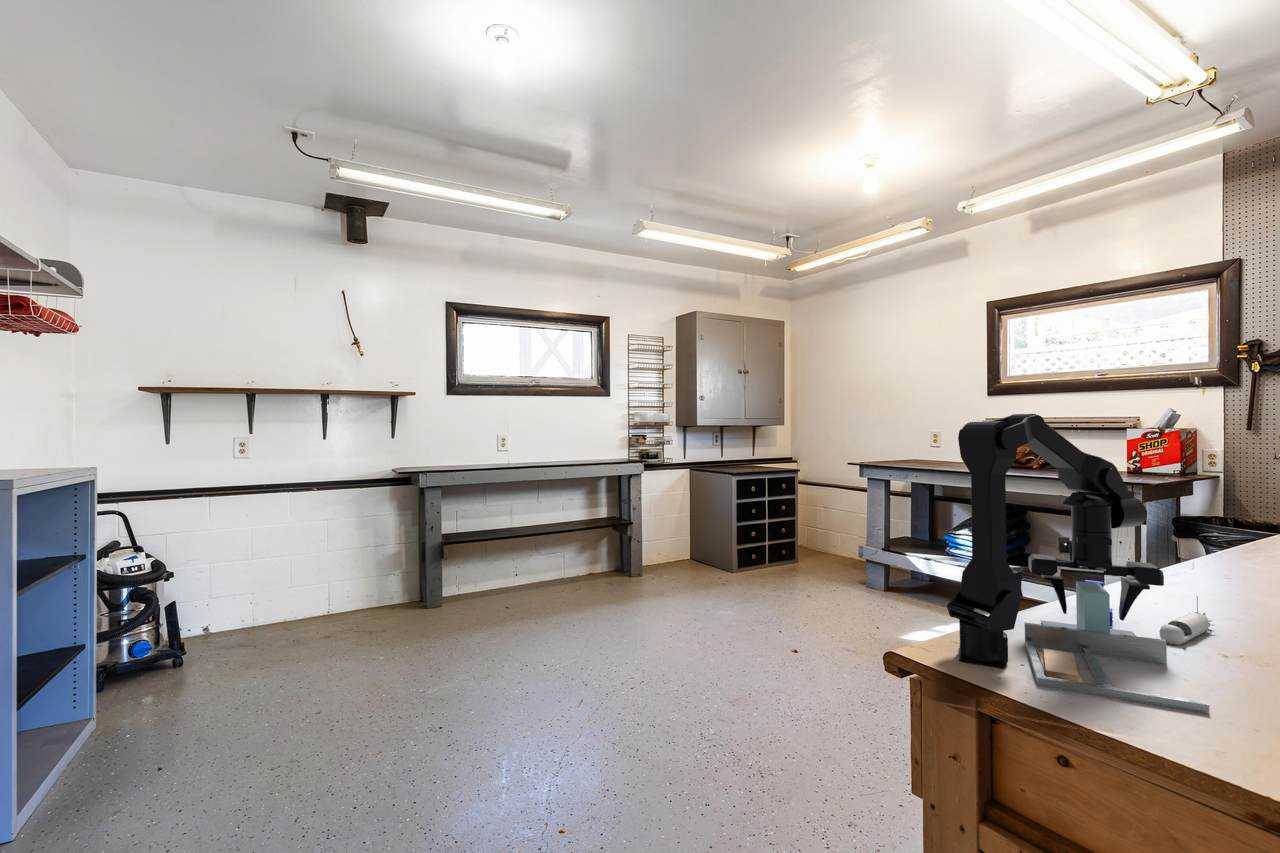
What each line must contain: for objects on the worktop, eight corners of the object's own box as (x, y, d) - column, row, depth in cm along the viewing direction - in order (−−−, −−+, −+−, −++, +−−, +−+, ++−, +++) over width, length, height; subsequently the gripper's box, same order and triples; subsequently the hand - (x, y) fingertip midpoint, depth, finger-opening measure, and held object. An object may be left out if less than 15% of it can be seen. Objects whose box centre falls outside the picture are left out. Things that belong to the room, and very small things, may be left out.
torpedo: (1187, 651, 100) (1186, 613, 100) (1152, 642, 104) (1151, 606, 104) (1222, 631, 110) (1221, 596, 110) (1188, 623, 114) (1188, 590, 114)
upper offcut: (1045, 677, 89) (1045, 670, 89) (1043, 655, 97) (1043, 648, 97) (1078, 683, 87) (1078, 675, 87) (1073, 660, 95) (1073, 653, 95)
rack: (1037, 687, 87) (1037, 660, 87) (1024, 644, 103) (1024, 622, 103) (1209, 716, 78) (1208, 686, 78) (1164, 664, 94) (1164, 639, 94)
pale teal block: (1085, 643, 102) (1084, 592, 102) (1076, 629, 109) (1076, 581, 109) (1110, 646, 101) (1109, 594, 101) (1100, 632, 108) (1099, 583, 108)
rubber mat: (1051, 646, 102) (1051, 644, 102) (1041, 622, 115) (1041, 620, 115) (1155, 661, 96) (1154, 658, 96) (1132, 634, 108) (1132, 631, 108)
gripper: (1145, 526, 108) (1146, 611, 108) (1024, 520, 117) (1026, 598, 117) (1164, 537, 98) (1165, 629, 98) (1031, 529, 107) (1032, 614, 107)
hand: (1092, 616), depth 105 cm, fingers open, 8 cm apart
